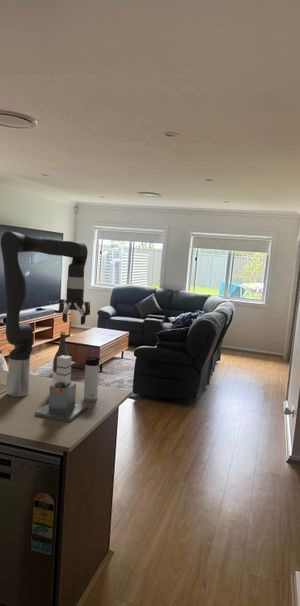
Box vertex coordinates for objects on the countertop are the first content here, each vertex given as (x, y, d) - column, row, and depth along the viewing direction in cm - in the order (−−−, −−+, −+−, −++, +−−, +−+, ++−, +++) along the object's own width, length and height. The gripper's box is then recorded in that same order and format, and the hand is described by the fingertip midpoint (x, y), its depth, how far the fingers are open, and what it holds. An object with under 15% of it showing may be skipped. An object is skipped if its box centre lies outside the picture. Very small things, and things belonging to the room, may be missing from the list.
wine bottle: (52, 395, 195) (54, 332, 192) (51, 389, 203) (54, 329, 200) (69, 394, 197) (72, 333, 194) (68, 389, 205) (71, 329, 202)
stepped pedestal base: (35, 415, 170) (36, 384, 169) (54, 403, 185) (56, 374, 184) (69, 422, 166) (71, 390, 164) (87, 409, 181) (88, 379, 179)
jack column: (54, 399, 173) (56, 357, 171) (60, 396, 178) (62, 355, 176) (64, 401, 172) (66, 358, 170) (70, 397, 176) (71, 356, 174)
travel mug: (95, 402, 190) (97, 359, 188) (81, 400, 191) (83, 358, 189) (99, 397, 196) (101, 356, 194) (86, 396, 197) (88, 355, 195)
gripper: (56, 286, 182) (55, 322, 183) (86, 289, 177) (84, 326, 179) (65, 285, 189) (63, 320, 190) (93, 288, 185) (91, 324, 186)
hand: (73, 323), depth 185 cm, fingers open, 8 cm apart
